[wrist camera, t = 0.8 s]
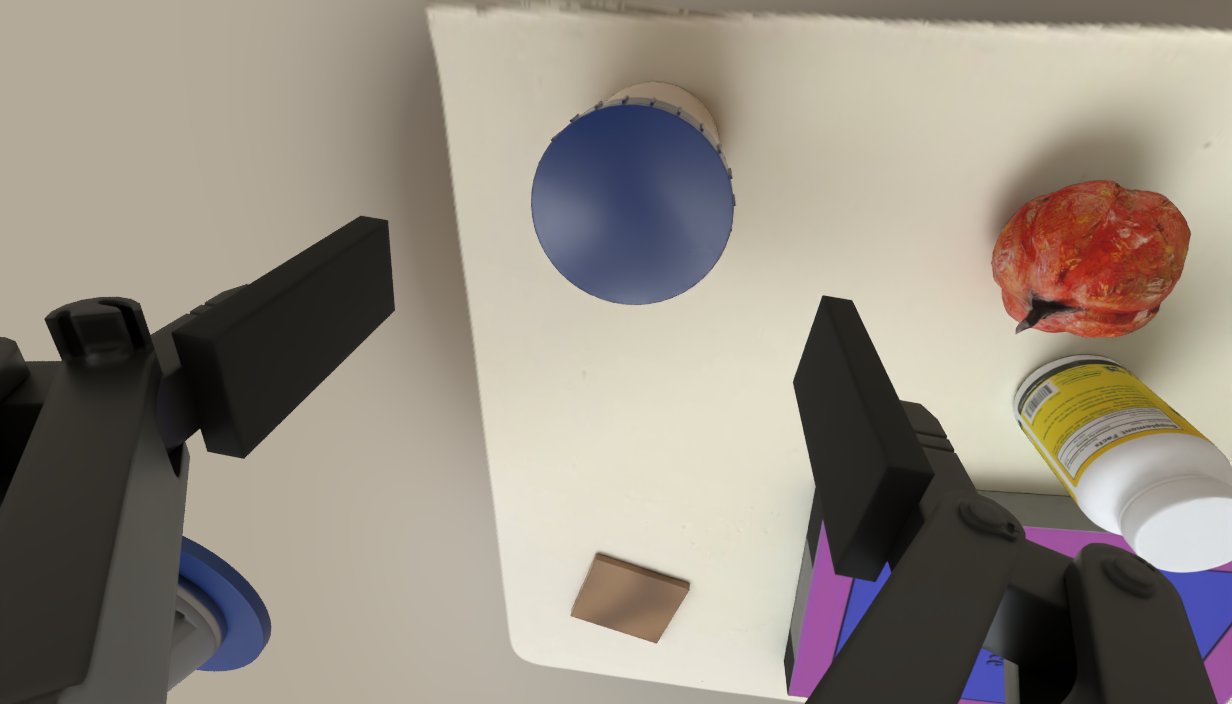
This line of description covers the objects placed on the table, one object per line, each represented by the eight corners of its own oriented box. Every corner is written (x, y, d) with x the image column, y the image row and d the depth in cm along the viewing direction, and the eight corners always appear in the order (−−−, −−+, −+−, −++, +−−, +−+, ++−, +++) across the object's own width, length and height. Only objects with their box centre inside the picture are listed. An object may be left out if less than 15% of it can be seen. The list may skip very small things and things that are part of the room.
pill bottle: (1126, 426, 36) (1274, 577, 26) (1011, 443, 38) (1112, 592, 28) (1132, 339, 33) (1300, 473, 24) (1008, 362, 35) (1119, 497, 25)
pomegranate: (1066, 132, 30) (939, 229, 28) (1262, 135, 24) (1124, 260, 22) (1061, 255, 34) (950, 351, 32) (1230, 285, 28) (1109, 405, 26)
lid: (523, 253, 27) (511, 269, 25) (568, 65, 22) (557, 70, 21) (691, 311, 27) (690, 331, 25) (766, 136, 23) (771, 147, 21)
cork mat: (571, 610, 52) (570, 616, 52) (596, 553, 48) (595, 559, 48) (657, 637, 53) (656, 643, 52) (689, 583, 48) (689, 589, 48)
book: (824, 511, 39) (1358, 550, 35) (816, 479, 41) (1314, 512, 37) (787, 695, 49) (1193, 741, 45) (783, 661, 52) (1167, 701, 48)
